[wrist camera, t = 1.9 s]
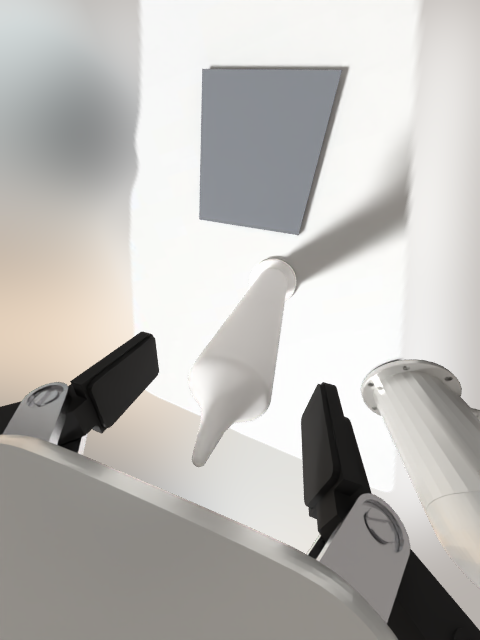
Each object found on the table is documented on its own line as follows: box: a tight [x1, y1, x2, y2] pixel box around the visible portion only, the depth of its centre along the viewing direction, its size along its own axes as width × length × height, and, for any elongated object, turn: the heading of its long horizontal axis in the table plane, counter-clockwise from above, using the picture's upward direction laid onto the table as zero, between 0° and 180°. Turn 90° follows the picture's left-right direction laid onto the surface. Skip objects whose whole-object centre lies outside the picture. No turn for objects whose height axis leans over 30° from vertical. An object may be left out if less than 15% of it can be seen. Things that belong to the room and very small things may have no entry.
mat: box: [199, 69, 342, 235], centre depth 22 cm, size 14×14×1 cm
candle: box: [188, 259, 296, 467], centre depth 17 cm, size 7×7×25 cm
